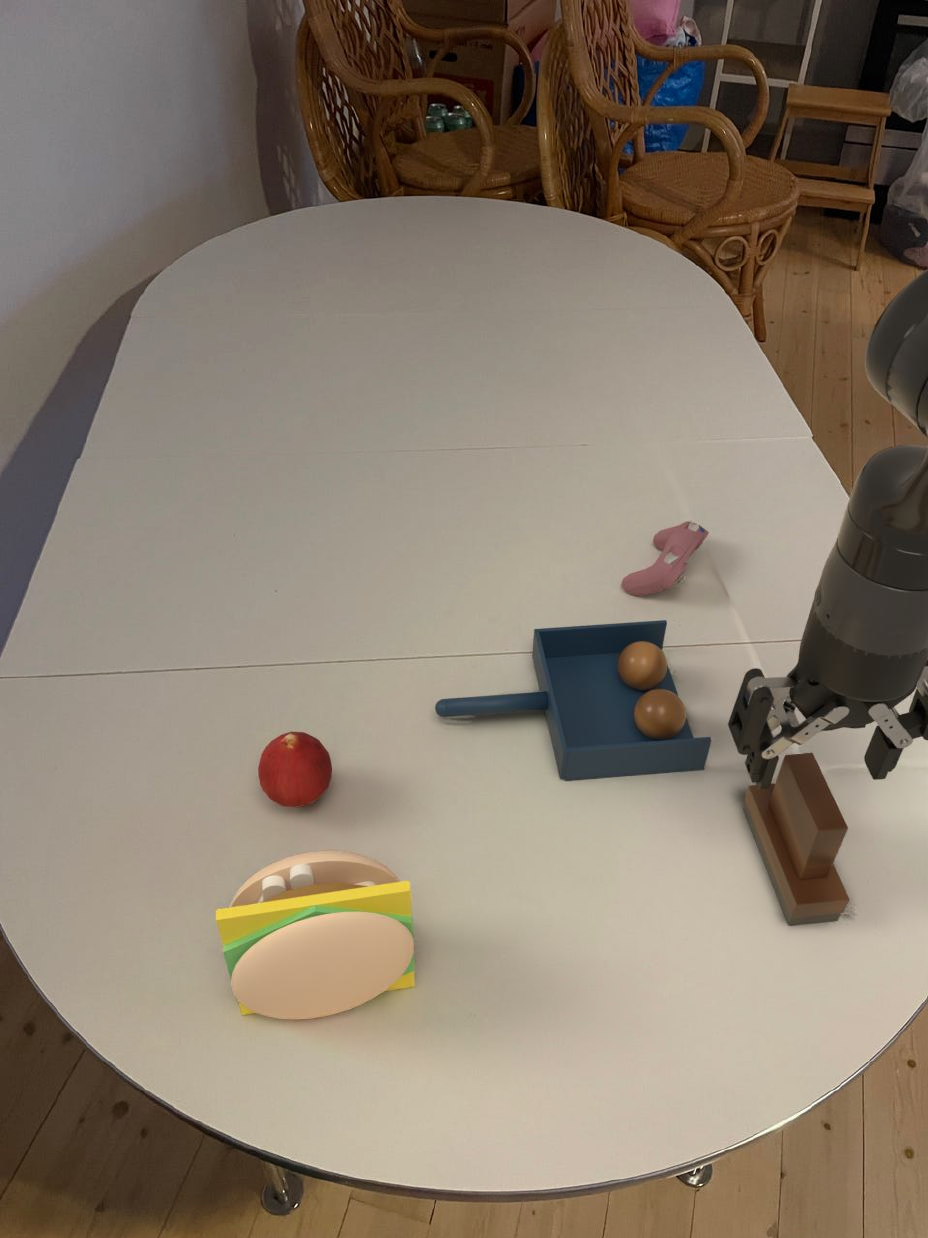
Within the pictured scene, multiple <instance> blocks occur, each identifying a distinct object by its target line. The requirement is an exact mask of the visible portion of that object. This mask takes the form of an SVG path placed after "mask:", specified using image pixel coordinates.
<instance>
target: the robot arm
mask: <svg viewBox="0 0 928 1238" xmlns="http://www.w3.org/2000/svg"><path fill="white" fill-rule="evenodd" d="M865 347H866V348H865V351H864V352H865V353H864V363H863V364H864V371H865V375H866V377H867V380H868V382H869V384H870V385H871V386H872V388H873V389H874V390H875V392H876V393H877V394H878V395H879V396H880V397H881V398H882V399H884V401H886V402H887V403H888V404H889V405H890V406H891V407H893V408H894V409H895V410H897V412H898V413H899V414H901V415H902V416H903V417H904V418H905V419H906V420H907V421H908V422H909V423H911V425H913V427H915V428H916V429H917V430H918V431H919V432H921V433H922V434H923V435H924V436H925V437H926V438H927V439H928V268H927V269H925V270H924V271H923V272H922V273H920V274H918V275H917V276H916V277H915V278H914V279H912V280H911V281H910V282H908V283H907V284H906V286H905V287H903V288H902V289H901V290H900V291H899V292H898V293H897V294H896V295H895V296H894V298H892V299H891V300H890V302H889V303H888V304H887V306H886V307H885V308H884V310H883V311H882V313H881V314H880V316H879V317H878V318H877V320H876V322H875V324H874V326H873V328H872V330H871V333H870V335H869V337H868V341H867V344H866V346H865ZM813 597H814V598H813V601H812V603H811V607H810V610H809V613H808V617H807V620H806V624H805V627H804V630H803V632H802V637H801V639H800V644H799V649H798V650H799V651H798V659H797V663H796V665H795V666H794V667H793V669H791V670H790V671H789V673H787V675H786V676H783V677H781V676H780V677H778V676H777V677H765V674H764V672H763V670H762V669H761V668H757V667H756V668H751V669H749V670H747V671H746V672H745V674H744V676H743V678H742V682H741V684H740V688H739V690H738V694H737V696H736V699H735V701H734V705H733V708H732V711H731V714H730V717H729V719H728V722H727V726H728V729H729V732H730V734H731V737H732V739H733V742H734V746H735V748H736V751H737V752H738V754H739V755H742V756H746V758H745V761H744V765H745V768H746V771H747V773H748V776H749V778H750V781H751V783H752V784H755V785H757V788H758V789H767V788H770V785H771V784H772V781H773V778H774V775H775V772H776V769H777V767H778V763H779V760H780V757H779V755H780V754H782V753H783V752H784V751H785V750H787V749H788V748H790V747H791V746H792V745H793V744H796V745H799V746H800V745H801V746H802V745H804V744H805V743H806V742H808V741H809V740H810V739H812V738H813V737H815V736H816V735H817V734H818V733H820V732H829V731H835V730H838V729H843V728H845V729H853V730H855V729H865V728H866V726H867V725H869V724H872V723H874V722H875V723H876V724H877V725H876V726H875V729H874V731H873V734H872V736H871V737H870V738H871V739H870V741H869V743H868V746H867V748H866V751H865V753H864V758H863V759H864V760H863V761H864V764H865V766H866V768H867V770H868V772H869V774H870V777H871V778H872V780H874V781H879V780H886V779H887V776H888V774H889V773H891V772H893V770H894V769H895V768H896V767H897V765H898V762H899V760H900V757H901V756H902V754H903V751H904V749H906V748H908V747H910V746H911V745H912V744H913V742H914V740H915V739H917V738H921V737H922V739H923V740H925V741H928V445H927V446H924V445H917V444H902V445H900V444H899V445H893V446H890V447H887V448H884V449H881V450H879V451H878V452H876V453H874V454H873V455H872V456H871V457H870V458H868V460H867V461H866V462H865V463H864V464H863V466H862V468H861V469H860V471H859V473H858V475H857V477H856V479H855V482H854V484H853V487H852V490H851V493H850V496H849V499H848V503H847V505H846V509H845V512H844V515H843V518H842V522H841V524H840V528H839V531H838V534H837V538H836V540H835V542H834V545H833V547H832V548H831V550H830V552H829V554H828V556H827V559H826V561H825V563H824V566H823V567H822V570H821V575H820V578H819V581H818V585H817V586H816V588H815V591H814V596H813ZM913 693H914V695H913V697H912V700H911V703H910V706H909V709H908V712H904V713H901V714H900V713H899V711H898V709H896V708H895V707H896V706H898V705H899V704H900V703H901V702H903V701H905V700H906V699H907V698H908V697H910V696H911V695H912V694H913ZM796 708H797V710H798V711H799V712H800V714H801V715H802V716H803V717H804V720H803V721H802V722H801V723H800V722H799V720H798V717H797V716H796V712H795V711H796ZM778 727H780V728H781V729H780V731H779V733H777V734H776V735H775V736H774V734H773V733H772V732H773V731H774V730H776V729H777V728H778Z"/></svg>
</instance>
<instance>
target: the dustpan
mask: <svg viewBox="0 0 928 1238" xmlns="http://www.w3.org/2000/svg"><path fill="white" fill-rule="evenodd" d="M667 626H668V621H667V620H666V619H662V620H661V619H659V620H647V621H632V622H618V623H617V622H616V623H601V624H588V625H587V624H586V625H572V626H558V627H557V626H556V627H544V628H543V627H542V628H534V629H533V640H532V642H533V643H532V651H531V653H532V654H531V657H532V662H533V667H534V671H535V674H536V679H537V685H538V688H539V691H534V692H519V693H517V692H516V693H504V694H491V695H478V696H477V695H475V696H464V697H451V698H441V699H439V700H438V701H437V702H436V703H435V705H434V710H435V713H436V715H437V716H438V717H440V718H453V717H454V718H455V717H466V716H467V717H469V716H481V715H482V716H483V715H494V714H495V715H496V714H506V713H507V714H509V713H520V712H534V711H535V712H536V711H544V713H545V719H546V724H547V727H548V732H549V736H550V740H551V744H552V750H553V752H554V758H555V764H556V766H557V771H558V775H559V779H560V780H564V782H569V781H582V780H583V781H584V780H594V779H595V780H596V779H606V778H618V777H620V778H621V777H631V776H643V775H644V776H645V775H655V774H657V775H658V774H667V773H668V774H669V773H681V772H682V773H683V772H693V771H703V770H704V771H705V768H706V763H707V759H708V755H709V751H710V748H711V744H712V738H711V736H703V737H694V735H693V734H694V733H693V732H692V729H691V726H690V724H689V721H688V718H687V717H686V720H685V724H684V726H683V728H682V729H681V731H680V732H679V733H678V734H677V735H675V736H674V737H672V738H670V739H667V740H654V739H651V738H649V737H647V736H645V735H644V734H643V733H642V732H641V731H640V730H639V729H638V727H637V725H636V723H635V719H634V709H635V706H636V703H637V701H638V700H639V698H640V697H641V696H642V695H643V694H645V693H646V692H648V691H651V690H654V689H665V690H669V691H671V692H673V693H674V694H676V695H677V696H678V697H679V698H680V696H679V693H678V690H677V688H676V685H675V682H674V679H673V677H672V674H671V670H670V668H669V666H668V664H667V671H666V674H665V677H664V679H663V680H662V681H661V682H660V683H659V684H658V685H657V686H655V687H653V688H651V689H647V690H638V689H634V688H632V687H630V686H628V685H627V684H626V683H625V682H624V681H623V680H622V678H621V677H620V675H619V672H618V659H619V656H620V654H621V652H622V651H623V650H624V649H625V648H626V647H627V646H628V645H630V644H632V643H634V642H639V641H645V642H650V643H653V644H655V645H656V646H658V647H659V648H660V649H661V650H662V651H663V646H664V641H665V637H666V630H667ZM605 777H606V778H605Z"/></svg>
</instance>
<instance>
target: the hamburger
mask: <svg viewBox="0 0 928 1238" xmlns="http://www.w3.org/2000/svg"><path fill="white" fill-rule="evenodd" d="M412 914H413V913H412V889H411V884H410V880H409V879H408V880H402V881H400V879H399V877H398V876H397V875H396V874H395V873H394V872H393V871H392V870H391V868H389V867H388V866H386V865H385V864H383V863H381V862H379V861H378V860H376V859H374V858H372V857H368V856H366V855H363V854H359V853H355V852H350V851H343V850H317V851H316V850H315V851H308V852H303V853H298V854H295V855H291V856H288V857H285V858H281V859H279V860H277V861H274V862H272V863H270V864H269V865H267V866H265V867H264V868H262V869H260V870H258V871H257V872H255V873H254V874H253V875H251V876H250V877H249V878H248V879H247V880H246V881H245V882H244V883H243V884H242V885H241V887H240V888H239V889H237V891H236V893H235V894H234V897H233V898H232V900H231V902H230V904H229V907H225V908H217V909H215V922H216V925H217V928H218V929H217V930H218V932H219V936H220V940H221V944H222V953H223V957H224V960H225V964H226V967H227V971H228V975H229V978H230V984H231V990H232V993H233V995H234V997H235V1000H236V1001H237V1003H238V1005H239V1009H240V1013H241V1016H247V1015H253V1014H258V1015H261V1016H265V1017H267V1018H273V1019H277V1020H278V1019H279V1020H296V1021H297V1020H310V1019H316V1018H323V1017H327V1016H333V1015H336V1014H339V1013H342V1012H345V1011H348V1010H351V1009H354V1008H357V1007H359V1006H361V1005H363V1004H365V1003H367V1002H369V1001H371V1000H372V999H375V998H376V997H377V996H379V995H381V994H382V993H385V992H390V991H395V990H397V991H398V990H402V989H407V988H415V985H416V984H415V969H416V968H415V940H414V923H413V915H412Z"/></svg>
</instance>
